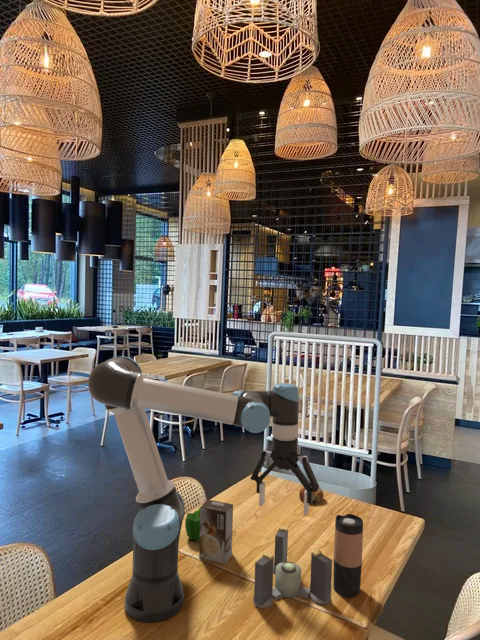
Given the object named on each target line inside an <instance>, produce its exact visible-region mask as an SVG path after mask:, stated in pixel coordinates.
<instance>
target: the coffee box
mask: <svg viewBox="0 0 480 640" xmlns="http://www.w3.org/2000/svg"><path fill="white" fill-rule="evenodd" d="M199 508H200V541H198V543H199V550H198V551H199V552H198V553H199V554H198V556H199V557H198V558H199V559H203V560H206V561H212V562H217V563H221V564H224V565H225V564H227V563H228V561H229V560H230V558H231V557H232V555H233V525H234V524H233V520H234V519H233V517H234V516H233V515H234V512H233V511H234V504H232V503H228V502H223V501H217V500H212V499H207V500H205V501H204V502H203V504H202V505H201V506H199Z"/></svg>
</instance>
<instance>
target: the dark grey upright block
mask: <svg viewBox="0 0 480 640" xmlns="http://www.w3.org/2000/svg"><path fill="white" fill-rule="evenodd" d="M274 558H275V554H273V553H271V552H268V551H265V552H264V553H263V554H262V557H260V558H259V559H258V560H256V561H255V563H254V587H253V588H254V589H253V591H254V592H253V598H252V599H253V601H252V602H253V605H254V606H256V608H259V609H269V608H271V607H272V605H273V603H274V599H273V597H272V592H273V589H274V587H273V585H274V573H273V564H274Z"/></svg>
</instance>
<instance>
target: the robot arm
mask: <svg viewBox="0 0 480 640" xmlns="http://www.w3.org/2000/svg"><path fill="white" fill-rule="evenodd" d="M87 388H88V391H89V393H90V396H91V397H92V398H93V399H94V400H95V401H97V402H98V403H100V404H102V405H104V406H105V409H106V411H107V412H109V413H111V414H112V415H114V419H115V422H116V425H117V427H118V428H117V429H118V432H119V434H120V437H121V440H122V443H123V446H124V449H125V453H126V456H127V459H128V463H129V465H130V468H131V470H132V473H133V478H134V481H135V484H136V487H137V490H138V493H137V495H136V497H135V501H136V504H137V507H138V512H137V514H136V515H135V518H134V520H133V526H132V536H133V537H132V539H133V540H132V573H131V578H130V581H129V583H128V587H127V590H126V592H125V596H124V610H125V612H126V614H127V615H128V616H129V617H130V618H132V619H133V620H136V621H138V622H142V623H158V622H162V621H165V620H168V619H170V618H172V617H174V616H175V615H177V614H178V613H179V611H180V610H181V609H182V607H183V605H184V600H185V599H184V597H185V594H184V593H185V592H184V587H183V584H182V581H181V578H180V575H179V571H178V570H179V543H180V537H181V530H182V526H183V521H184V518H185V514H186V509H185V508H186V507H185V501H184V498H183V497H182V495H181V493H180V492H179V491H178V490H177V488H176V485H175V482H174V481H172V480H169V479H168V477H167V474H166V471H165V468H164V465H163V462H162V458H161V455H160V452H159V449H158V446H157V443H156V439H155V437H154V433H153V430H152V427H151V425H150V421H149V417H148V415H147V413H146V412H147V411H146V409H148V410H153V411H159V412H164V413H168V414H173V415H179V416H185V417H190V418H193V419H194V418H195V419H201V420H205V421H211V422H215V423H216V422H217V423H222V424H227V425H231V426H232V425H233V426H236V427H242V428H244V429H245V430H246V431H247V432H249V433H253V434H258V433H262V432H264V431H265V430H266V429H267V428H268V426H269V425H270V422H271V418H272V425H271V426H272V431H271V435H272V437H271V451H269V450H268V449H267V448H265V449H264V450H262V451H261V452H260V453H261V454H260V459H259V461H258V463H257V465H256V466H255V469H254V470H253V473H252V474H251V476H250V480H251V481H255V483H256V494H259V497H258V498H259V499H258V500H259V501H258V502H259V503H258V506H259V507H263V505H264V504H265V502H266V496H265V495H266V481H265V480H264V479H265V478H266V477H267V476H268V475H269V474H270V473H271V472H272V471H273V469H274V468H276V467H277V468H278V470H286V471H291V472H292V473H293V474H294V475H295V477H296V478H297V479H298V481H299V483H301V485H302V487H304V488H305V489H306V491H305V492H304V502H303V516H307V515H308V513H309V512H310V510H309V509H310V504H309V503H311V502H312V494H313V492H316V491H317V490H318V489H319V487H320V484H319V483H318V480H317V478H316V476H315V474H314V471H313V469H312V467H311V465H310V458H309V455H307V454H305V455H304V456H303V455H301V456H300V455H299V453H298V449H299V447H298V446H299V439H298V436H299V409H300V408H299V403H300V397H299V394H300V393H299V386H297V385H296V384H294V383H288V382H282V383H279V382H278V383H274V385H273V387H272V390H246V389H243V390H234V392H232V394H229V393H225V392H224V393H223V392H219V391H214V390H207V389H202V388H197V387H193V386H188V385H183V384H178V383H173V382H167V381H162V380H157V379H152V378H147V377H144V375H143V372H142V367H141V366H140V365H139V363H138V362H137V361H136V360H134V358H131V357H128V356H121V355H120V356H115V357H111V358H109V359H107V360H105V361H103V362H101V363H99V364H97V365H96V366H95V367H94V368H93V369H92V371H91V372H90V374H89V377H88V381H87ZM269 458H271V460H272V463H271V464H270V465H269V466H268V467H267V469H265V470H264V471H263V472H262V474H261V475H259V474H260V472H261V470H262V468H263V466H264V465H265V463H266V461H267V459H269ZM298 462H300V464H301V465H302V466H303V470H304V472H305V474H306V476H307V477H306V476H305V474H304V472H303V471H302V469H301V468H300V466H299V464H298Z"/></svg>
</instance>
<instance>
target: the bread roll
mask: <svg viewBox="0 0 480 640" xmlns="http://www.w3.org/2000/svg"><path fill="white" fill-rule="evenodd" d="M305 491H306V489H305V488H304V487H303V486H302V487H300V489H299V495H298V496H299V500H300V501H301V502H302V501H303V503H304V492H305ZM323 501H324V492H323V490H322V488H321V487H320V486H319V489H318V490H317V491H316V492H313V494H312V502H311V503H309V505H315V504H319V503H322V502H323Z"/></svg>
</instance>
